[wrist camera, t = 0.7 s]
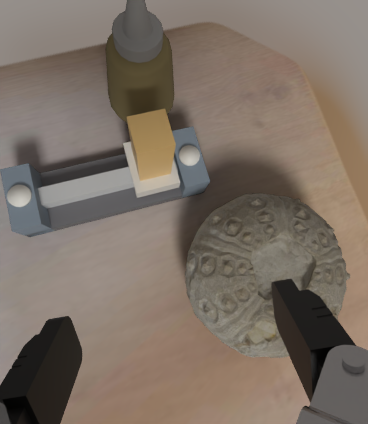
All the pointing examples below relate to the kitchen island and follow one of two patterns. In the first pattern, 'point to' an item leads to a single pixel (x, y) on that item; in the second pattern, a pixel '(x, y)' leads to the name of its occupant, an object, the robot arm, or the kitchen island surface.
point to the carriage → (151, 153)
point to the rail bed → (100, 202)
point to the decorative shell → (260, 268)
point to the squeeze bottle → (139, 63)
